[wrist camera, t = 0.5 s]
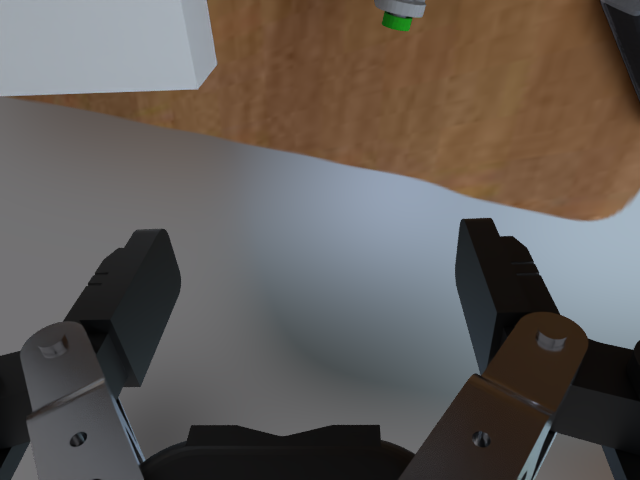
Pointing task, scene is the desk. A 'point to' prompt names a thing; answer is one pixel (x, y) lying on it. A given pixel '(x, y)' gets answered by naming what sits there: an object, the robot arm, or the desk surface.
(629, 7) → the external hard drive
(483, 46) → the desk surface
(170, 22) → the housing
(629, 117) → the desk surface
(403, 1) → the mechanical component
